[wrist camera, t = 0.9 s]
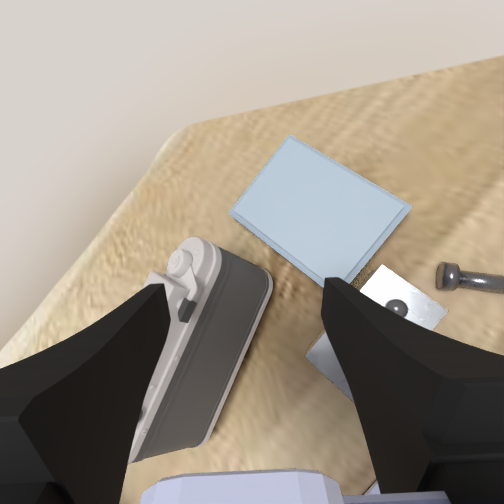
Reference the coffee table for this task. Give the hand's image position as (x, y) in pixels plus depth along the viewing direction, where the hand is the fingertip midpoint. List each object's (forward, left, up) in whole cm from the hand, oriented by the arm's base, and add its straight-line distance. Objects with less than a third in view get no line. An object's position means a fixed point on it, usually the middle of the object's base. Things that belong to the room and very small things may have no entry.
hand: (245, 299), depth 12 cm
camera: (+4, +8, -13) cm, 15 cm away
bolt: (-10, -10, -12) cm, 19 cm away
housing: (-6, -2, -12) cm, 14 cm away
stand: (+3, -7, -12) cm, 14 cm away
